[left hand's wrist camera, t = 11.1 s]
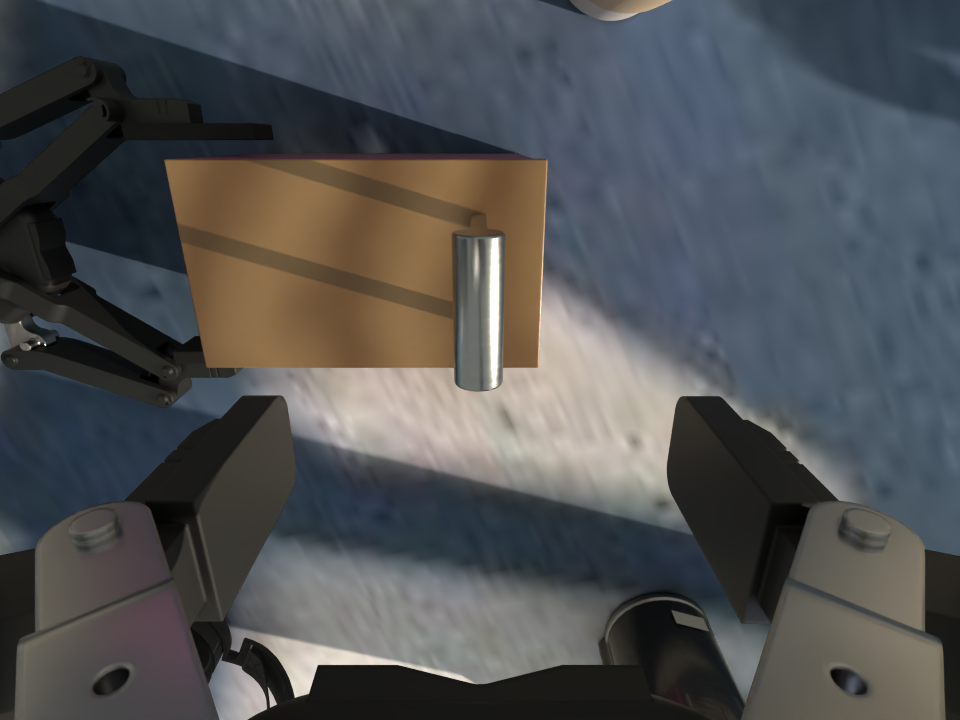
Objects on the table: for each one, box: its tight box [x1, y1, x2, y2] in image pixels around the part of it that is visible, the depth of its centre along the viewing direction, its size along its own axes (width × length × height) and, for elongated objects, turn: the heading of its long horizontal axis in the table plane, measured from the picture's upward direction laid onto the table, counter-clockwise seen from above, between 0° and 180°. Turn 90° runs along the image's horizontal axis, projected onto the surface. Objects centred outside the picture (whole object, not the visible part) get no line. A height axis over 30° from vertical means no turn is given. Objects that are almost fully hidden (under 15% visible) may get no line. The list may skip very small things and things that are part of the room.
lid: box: [164, 159, 547, 391], centre depth 23 cm, size 17×10×8 cm, turn 90°
